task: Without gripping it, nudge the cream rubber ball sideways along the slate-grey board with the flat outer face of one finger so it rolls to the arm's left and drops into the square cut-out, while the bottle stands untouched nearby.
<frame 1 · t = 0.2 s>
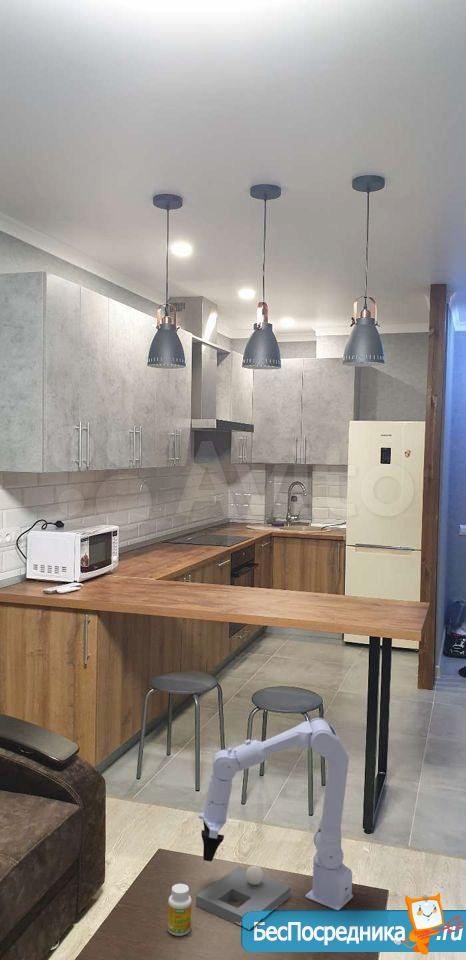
hand: (207, 852, 195), 11 cm above the table, tool pointing down, fingers open, 7 cm apart
supplement bottle: (178, 930, 180), on the table
ball: (254, 875, 196), point 5 cm above the table, touching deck
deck: (243, 901, 192), on the table
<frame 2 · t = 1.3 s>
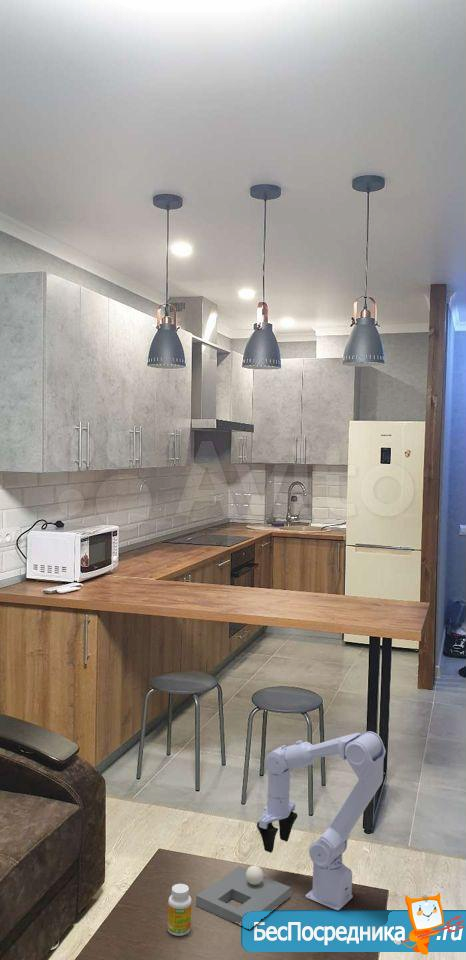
hand: (276, 845, 204), 8 cm above the table, tool pointing down, fingers open, 7 cm apart
nothing on the table moved.
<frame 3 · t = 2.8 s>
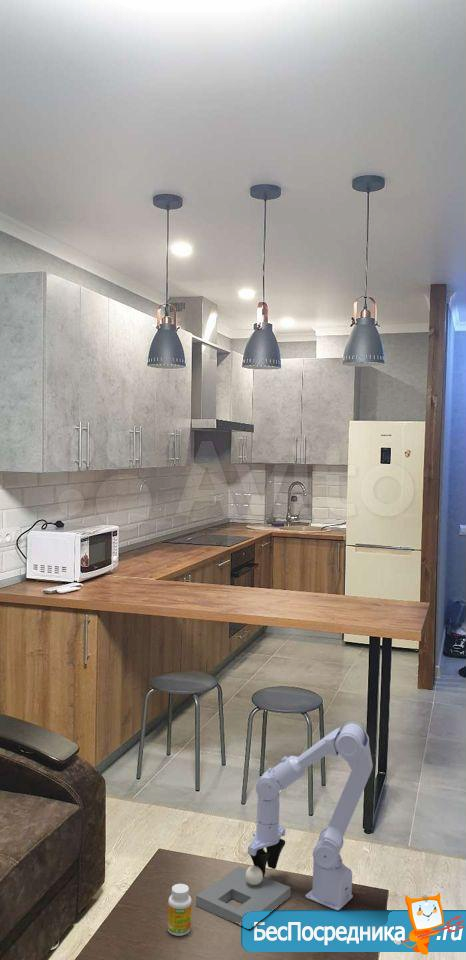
hand: (265, 871, 200), 3 cm above the table, tool pointing down, fingers open, 5 cm apart
ball: (254, 875, 196), point 5 cm above the table, touching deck, gripper
everything else where it was.
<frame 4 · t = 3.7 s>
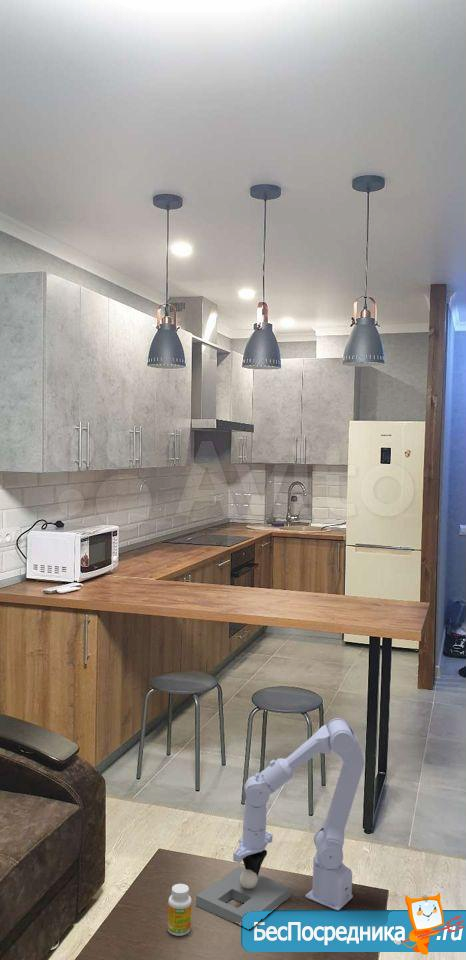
hand: (251, 879, 196), 4 cm above the table, tool pointing down, fingers closed, pressing on ball
ball: (248, 878, 194), point 5 cm above the table, tilted 61°, touching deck, gripper
everything else where it was.
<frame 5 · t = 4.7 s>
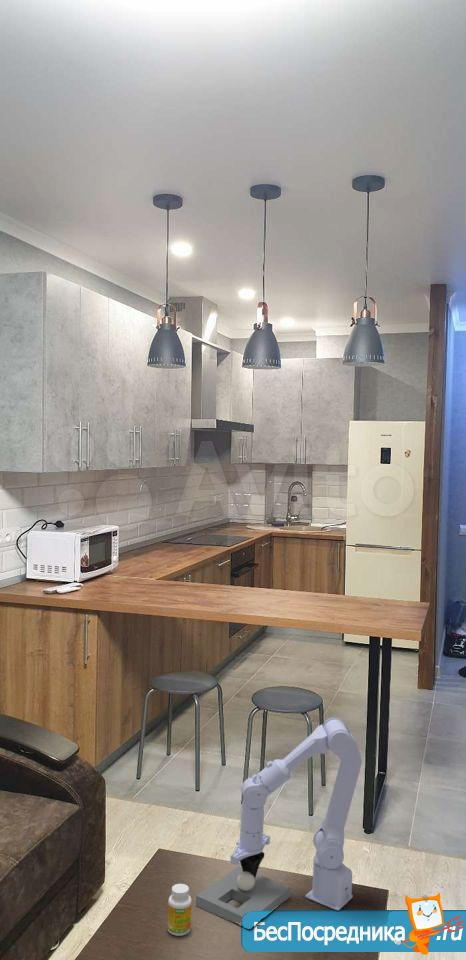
hand: (249, 881, 195), 4 cm above the table, tool pointing down, fingers closed, pressing on ball
ball: (246, 881, 193), point 5 cm above the table, tilted 94°, touching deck, gripper
everything else where it was.
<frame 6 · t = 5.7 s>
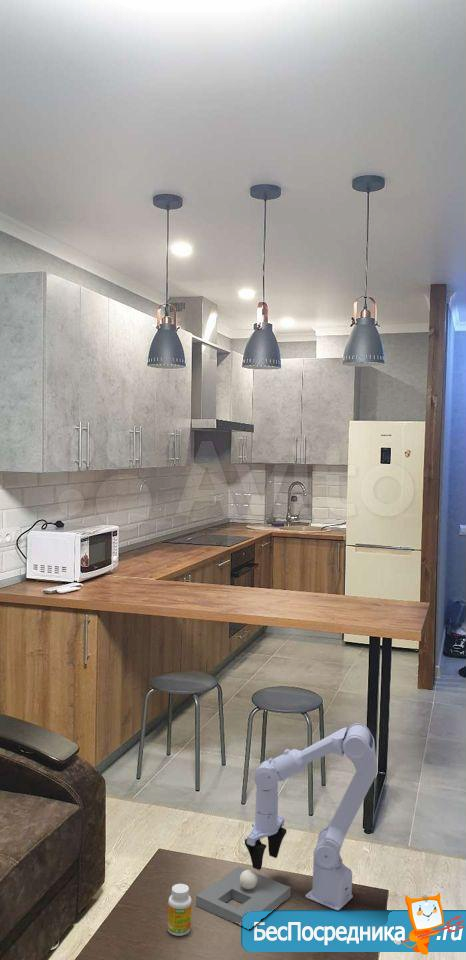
hand: (265, 862, 200), 6 cm above the table, tool pointing down, fingers open, 7 cm apart
ball: (248, 879, 194), point 5 cm above the table, tilted 72°, touching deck
everything else where it was.
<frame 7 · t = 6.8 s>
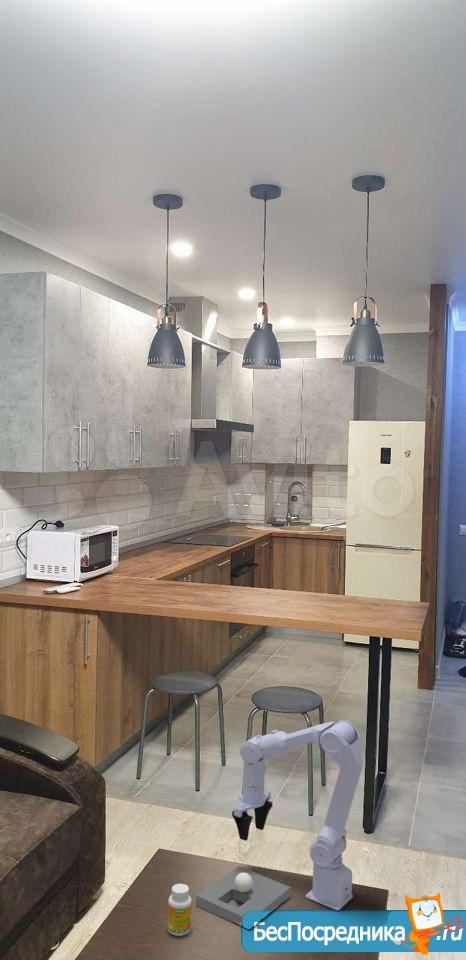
hand: (251, 833, 207), 10 cm above the table, tool pointing down, fingers open, 7 cm apart
ball: (243, 882, 192), point 5 cm above the table, tilted 120°, touching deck
everything else where it was.
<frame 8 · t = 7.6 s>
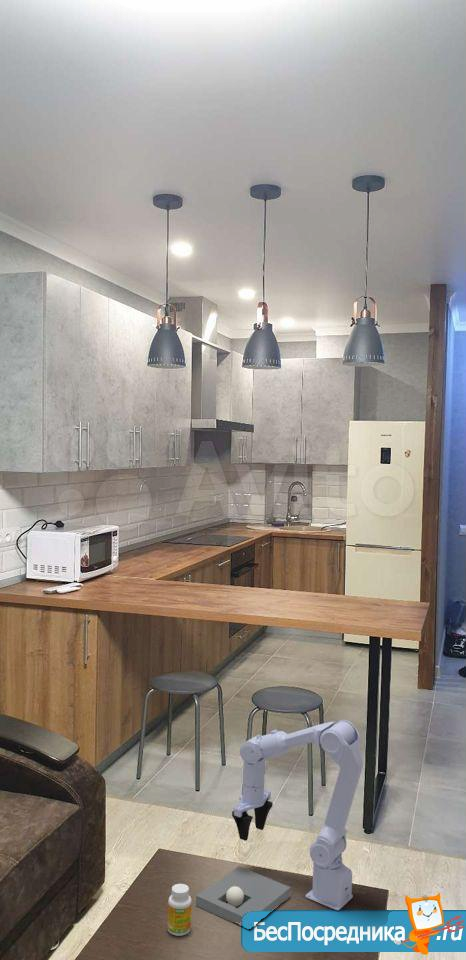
hand: (251, 833, 207), 10 cm above the table, tool pointing down, fingers open, 7 cm apart
ball: (234, 896, 190), point 3 cm above the table, tilted 137°
everything else where it was.
at the end: ball 0.8 cm from the target spot on the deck, point 2.2 cm above the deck's base; the gripper is holding nothing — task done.
